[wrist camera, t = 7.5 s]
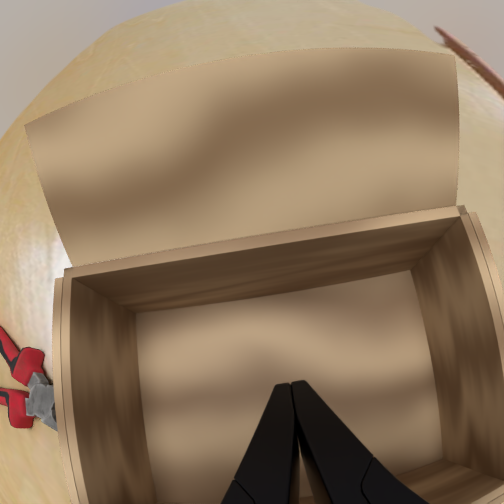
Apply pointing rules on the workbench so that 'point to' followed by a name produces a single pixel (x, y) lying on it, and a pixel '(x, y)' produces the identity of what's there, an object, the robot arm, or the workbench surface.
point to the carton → (284, 357)
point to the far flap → (250, 149)
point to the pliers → (31, 375)
